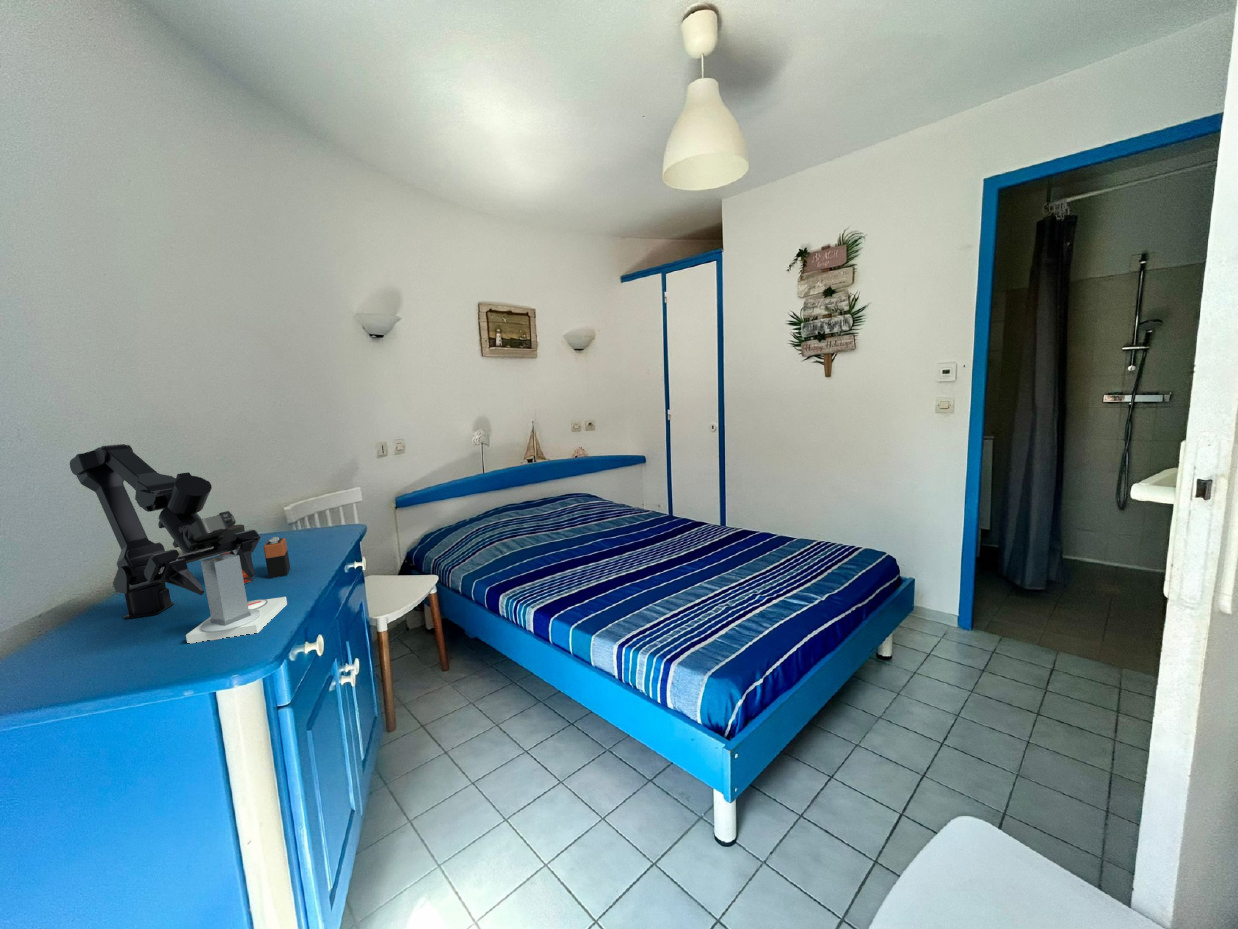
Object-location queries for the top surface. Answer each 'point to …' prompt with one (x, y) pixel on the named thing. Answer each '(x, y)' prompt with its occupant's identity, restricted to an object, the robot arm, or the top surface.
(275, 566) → the battery
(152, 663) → the top surface
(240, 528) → the deodorant
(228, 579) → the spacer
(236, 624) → the scale
